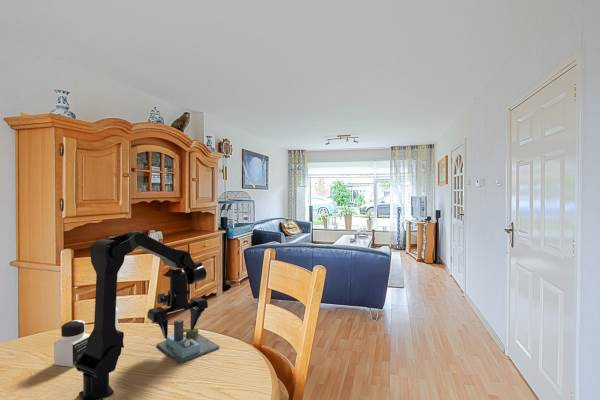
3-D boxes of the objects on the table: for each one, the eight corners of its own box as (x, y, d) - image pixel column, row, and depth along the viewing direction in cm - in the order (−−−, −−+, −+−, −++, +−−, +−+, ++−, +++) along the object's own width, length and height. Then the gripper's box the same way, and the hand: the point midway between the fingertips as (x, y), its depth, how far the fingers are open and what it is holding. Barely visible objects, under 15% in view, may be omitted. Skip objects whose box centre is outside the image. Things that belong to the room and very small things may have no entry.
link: (199, 351, 106) (199, 325, 105) (182, 358, 101) (182, 331, 101) (179, 338, 115) (179, 314, 115) (163, 344, 111) (162, 319, 111)
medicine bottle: (73, 367, 97) (72, 327, 97) (53, 365, 99) (53, 326, 99) (92, 356, 104) (92, 319, 104) (74, 353, 106) (73, 317, 106)
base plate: (219, 348, 110) (219, 333, 109) (179, 363, 99) (179, 348, 99) (194, 333, 121) (194, 320, 121) (156, 346, 111) (156, 332, 111)
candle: (93, 341, 115) (92, 299, 115) (110, 334, 121) (110, 294, 120) (104, 344, 112) (104, 301, 112) (122, 337, 118) (121, 296, 118)
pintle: (190, 354, 105) (190, 340, 105) (186, 355, 104) (185, 341, 104) (188, 352, 106) (188, 338, 106) (183, 354, 105) (183, 340, 105)
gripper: (193, 278, 121) (193, 319, 121) (140, 288, 108) (141, 335, 108) (208, 284, 113) (208, 328, 114) (154, 296, 100) (154, 346, 100)
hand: (179, 333), depth 109 cm, fingers open, 9 cm apart
